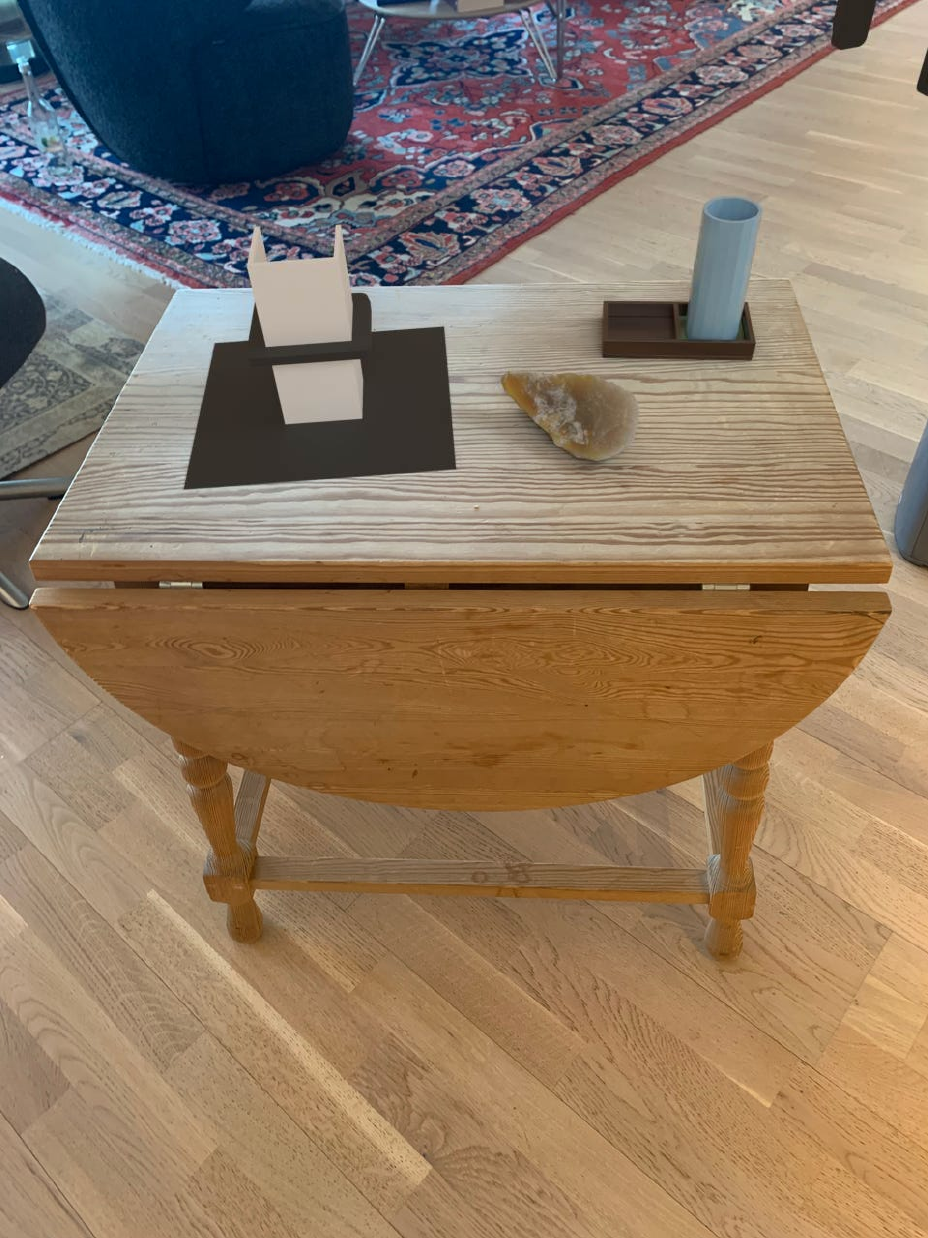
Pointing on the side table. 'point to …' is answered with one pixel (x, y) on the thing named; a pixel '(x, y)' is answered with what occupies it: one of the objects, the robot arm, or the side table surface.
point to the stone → (577, 411)
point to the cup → (722, 267)
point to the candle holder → (320, 386)
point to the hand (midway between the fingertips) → (888, 68)
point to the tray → (666, 333)
